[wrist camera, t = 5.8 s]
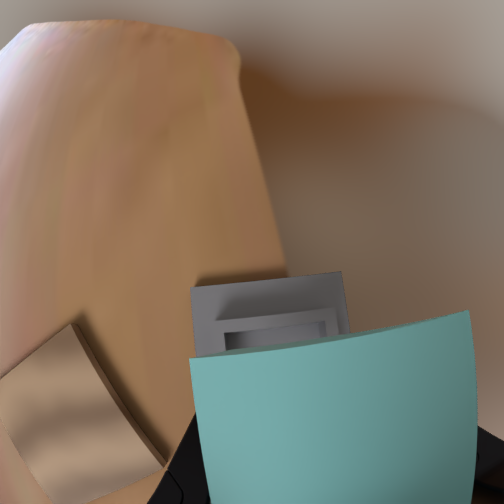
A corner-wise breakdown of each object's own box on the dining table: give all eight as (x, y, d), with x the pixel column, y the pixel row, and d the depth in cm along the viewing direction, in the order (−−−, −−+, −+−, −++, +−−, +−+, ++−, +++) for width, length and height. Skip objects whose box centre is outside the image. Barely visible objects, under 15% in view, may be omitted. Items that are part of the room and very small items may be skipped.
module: (335, 432, 13) (463, 540, 3) (244, 446, 13) (236, 603, 3) (324, 337, 15) (468, 309, 4) (232, 349, 15) (188, 358, 4)
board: (167, 462, 19) (163, 468, 18) (66, 507, 17) (60, 512, 16) (77, 324, 22) (70, 323, 21) (-6, 390, 20) (-13, 390, 19)
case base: (356, 448, 20) (370, 460, 17) (212, 468, 19) (208, 484, 16) (337, 274, 24) (348, 264, 21) (192, 289, 23) (184, 281, 20)
